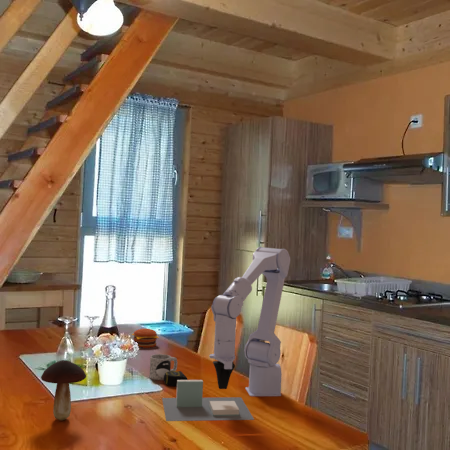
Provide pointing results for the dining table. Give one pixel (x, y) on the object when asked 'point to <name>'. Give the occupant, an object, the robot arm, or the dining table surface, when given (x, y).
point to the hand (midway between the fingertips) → (222, 388)
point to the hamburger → (145, 338)
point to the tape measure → (173, 377)
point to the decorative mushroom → (63, 385)
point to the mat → (203, 410)
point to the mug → (161, 365)
